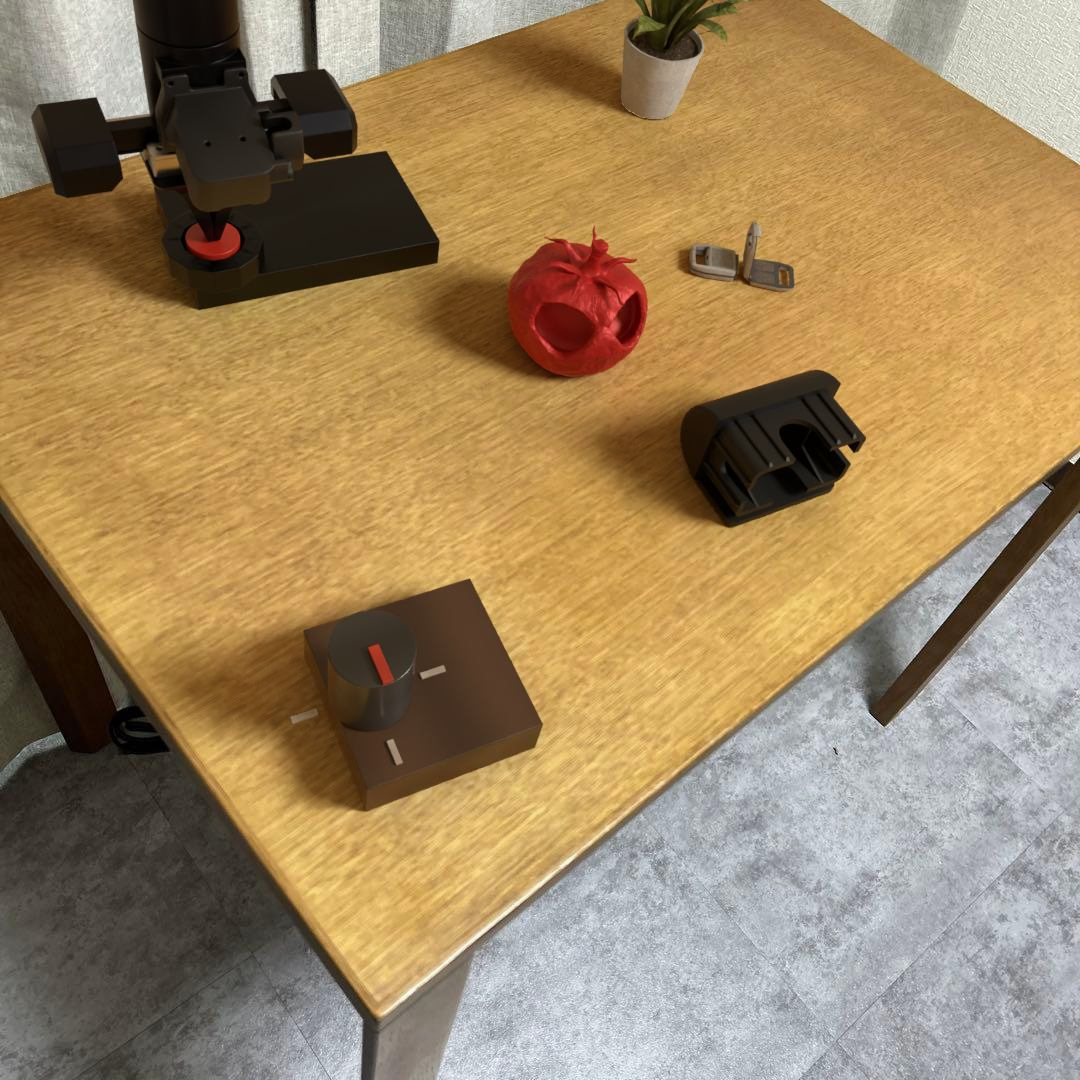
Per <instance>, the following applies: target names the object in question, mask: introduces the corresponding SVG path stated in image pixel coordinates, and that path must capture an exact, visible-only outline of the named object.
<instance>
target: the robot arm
mask: <svg viewBox="0 0 1080 1080" xmlns="http://www.w3.org/2000/svg"><path fill="white" fill-rule="evenodd" d="M132 5H133V6H132V7H133V13H134V21H135V27H136V34H137V40H138V47H139V53H140V60H141V66H142V73H143V81H144V86H145V92H146V98H147V99H146V101H147V107H148V112H149V113H144V114H137V115H129V116H122V117H114V118H107V119H106V117H105V114H104V112H103V109H102V107H101V105H100V102H99V99H98V97H97V96H94V97H85V98H78V99H77V98H76V99H70V100H62V101H53V102H45V103H39V104H37V105H36V107H35V109H34V110H33V112H32V113H31V115H30V120H31V124H32V128H33V132H34V136H35V140H36V143H37V147H38V149H39V152H40V155H41V158H42V160H43V163H44V166H45V169H46V172H47V174H48V175H47V176H48V177H49V181H50V183H51V186H52V189H53V192H54V194H55V195H57V196H59V197H62V198H64V199H72V198H78V197H86V196H92V195H96V194H97V195H99V194H104V193H111V192H114V190H115V189H116V188H117V187H118V185H119V184H120V183H121V182H122V181H123V179H124V175H123V174H124V173H123V168H122V164H121V163H122V162H121V159H120V156H124V155H130V154H137V153H139V154H140V157H141V159H142V162H143V164H144V166H145V169H146V171H147V174H148V176H149V178H150V181H151V183H152V185H153V187H156V188H157V189H159V190H161V191H168V190H174V191H177V192H178V193H179V194H180V195H181V197H182V198H183V199H184V200H185V202H186V203H187V204H188V206H189V207H190V209H191V211H192V213H193V215H194V216H195V218H196V220H197V222H198V224H199V226H200V227H201V229H202V231H203V233H204V235H205V237H206V239H207V240H208V242H213V241H219V240H221V237H222V234H223V232H224V229H225V226H226V223H227V221H228V218H229V215H230V213H231V210H232V207H233V206H239V205H245V204H252V205H256V204H261V203H264V202H266V201H267V200H268V199H269V198H270V196H271V193H272V185H273V183H279V182H285V181H292V180H294V174H293V171H296V170H301V169H302V168H303V163H304V162H305V155H306V156H307V157H309V158H310V159H312V160H313V161H318V160H325V159H331V158H337V157H344V156H350V155H353V154H354V153H355V151H356V150H357V149H358V135H359V133H358V130H359V128H358V126H359V125H358V122H357V117H356V112H355V111H354V109H353V107H352V106H351V104H350V102H349V101H348V98H347V97H346V96H345V94H344V92H343V90H342V89H341V87H340V85H339V83H338V82H337V80H336V78H335V77H334V76H333V75H332V74H331V73H330V72H329V71H328V70H327V69H326V68H318V69H311V70H301V71H293V72H287V73H286V72H285V73H278V74H277V73H276V74H274V75H272V77H271V78H270V82H269V83H270V95H271V97H272V98H273V99H268V100H261V101H258V100H257V98H256V95H255V93H254V91H253V89H252V87H251V85H250V81H249V80H250V79H249V78H250V77H249V71H248V70H247V69H248V68H247V59H246V57H245V56H244V53H243V45H242V34H241V33H242V31H241V19H240V18H241V17H240V6H239V0H132Z"/></svg>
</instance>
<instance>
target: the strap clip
mask: <svg viewBox="0 0 1080 1080" xmlns="http://www.w3.org/2000/svg"><path fill="white" fill-rule="evenodd" d="M745 237H746V238H745V243H744V249H743V255H742V267H743V269H742V270H743V272H742V273H743V279H744V280H745V281H746V282H749V285H750V286H753V287H756V288H762V289H766V290H770V291H774V292H790V291H792V290H794V289H795V286H796V285H795V272H794V271H795V270H794V267H793V266H792V265H789V264H786V263H784V262H780V261H773V260H768V259H760V258H755V257H756V251H757V244H758V238H760V239H762V237H763V236H762V226H761V225H760V224H757V221H752V222H751V223H750V225H749V228H748V229H747V232H746V236H745ZM696 255H698V256H701V257H704V264H699V263H697V262H696V261H697V260H696V258H697V257H696ZM688 261H689V263H688V265H689V270H690V272H691V273H693V274H694V275H696V276H699V277H701V278H704V279H709V280H710V279H712V280H717V281H726V282H732V281H734V279H735V280H737V278H738V275H739V273H740V254H739V253H738V254H737V253H736V250H734V249H730V248H725V247H721V246H717V245H713V244H708V243H706V244H705V243H703V244H702V243H699V244H693V245H692V246H691V248H690V251H689V260H688ZM780 271H785V272H787V274H788V284H781V283H780V282H781V281H780Z"/></svg>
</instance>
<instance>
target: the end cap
mask: <svg viewBox="0 0 1080 1080" xmlns="http://www.w3.org/2000/svg"><path fill="white" fill-rule="evenodd" d="M841 386H842V383H841V381H839V379H837V378H836V376H834V375H833V374H831V373H830V372H828V371H825V370H822V369H809V370H807V371H804V372H799V373H797V374H793V375H790V376H787V377H784V378H781V379H777V380H774V381H770V382H767V383H765V384H760V385H757V386H754V387H751V388H748V389H745V390H741V391H738V392H735V393H731V394H728V395H724V396H722V397H717V398H715V399H711V400H708V401H705V402H701V403H699V404H695V405H693V406H692V407H690V408H689V409H688V410H687V411H686V412H685V413H684V416H683V417H682V420H681V423H680V430H679V443H680V450H681V454H682V457H683V460H684V463H685V467H686V468H687V470H688V472H689V474H690V476H691V477H692V479H693V480H694V481H695V484H696V486H697V488H699V490H700V491H701V493H702V494H703V495H704V497H705V498H706V500H707V502H708V503H709V504H710V506H711V507H712V508H713V510H714V511H715V512H716V514H717V515H718V517H719V518H720V520H721V521H722V523H723V524H724V525H725V526H727V527H729V528H736V527H739V526H741V525H744V524H747V523H750V522H752V521H756V520H758V519H761V518H763V517H766V516H769V515H772V514H775V513H778V512H780V511H783V510H785V509H789V508H791V507H794V506H797V505H800V504H802V503H805V502H809V501H811V500H814V499H816V498H819V497H822V496H825V495H827V494H830V493H831V492H832V490H833V489H834V487H835V485H836V484H835V483H837V482H838V481H840V480H841V479H842V478H844V477H845V475H846V474H847V472H848V470H849V468H850V467H851V465H852V463H851V462H850V461H849V459H848V458H847V456H846V455H845V454H844V453H843V451H842V450H841V449H840V448H842V447H846V446H847V447H848V449H850V451H851V452H852V453H853V454H856V453H859V452H860V450H861V449H862V447H863V446H864V443H865V441H866V440H867V436H866V435H865V434H864V433H863V432H862V430H861V429H860V428H859V427H858V426H857V425H856V423H855V422H854V421H853V419H852V418H851V417H850V416H849V415H848V413H847V412H846V411H845V410H844V408H843V407H842V406H841V405H840V403H839V402H838V401H837V400H836V399H835V396H836V395H837V393H838V391H839V390H840V387H841Z"/></svg>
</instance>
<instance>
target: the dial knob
mask: <svg viewBox="0 0 1080 1080" xmlns="http://www.w3.org/2000/svg"><path fill="white" fill-rule="evenodd" d="M367 610H368V611H366V610H361V611H357V612H355V613H352V614H350V615H348V617H347V616H346V617H347V618H345V619H344V620H342V621H341V622H340V623H339V624H338V625H337V626H336V627H335V628H334V630H333V632H332V633H331V635H330V638H329V641H328V647H327V650H328V701H329V704H330V707H331V709H332V711H333V713H334V714H335V716H336V717H337V718H338V719H339V720H340V721H341V722H342V723H344V724H345V725H347V726H349V727H351V728H354V729H357V730H361V731H377V730H382V729H385V728H387V727H390V726H391V725H393V724H395V723H396V722H397V721H399V720H400V719H401V718H402V717H403V716H404V714H405V713H406V711H407V709H408V707H409V705H410V702H411V696H412V688H413V679H414V671H415V663H416V655H417V644H416V639H415V637H414V634H413V633H412V631H411V629H410V628H409V627H408V625H407V624H406V623H405V622H403V621H402V620H401V619H400V618H398V617H396V616H394V615H392V614H390V613H387V612H383V611H375V610H369V609H367Z"/></svg>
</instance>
